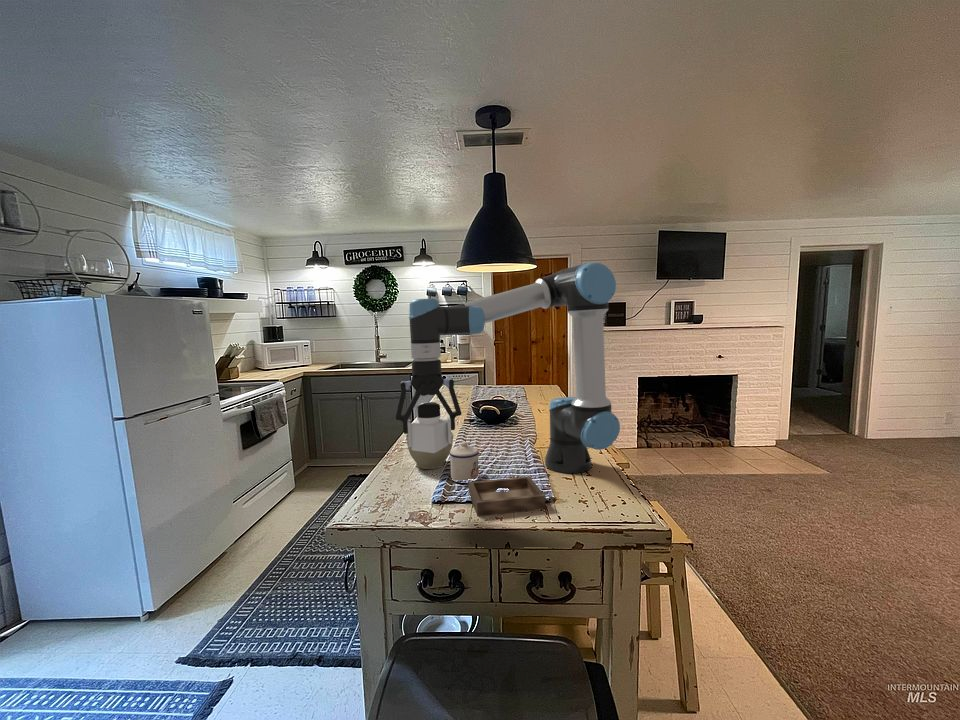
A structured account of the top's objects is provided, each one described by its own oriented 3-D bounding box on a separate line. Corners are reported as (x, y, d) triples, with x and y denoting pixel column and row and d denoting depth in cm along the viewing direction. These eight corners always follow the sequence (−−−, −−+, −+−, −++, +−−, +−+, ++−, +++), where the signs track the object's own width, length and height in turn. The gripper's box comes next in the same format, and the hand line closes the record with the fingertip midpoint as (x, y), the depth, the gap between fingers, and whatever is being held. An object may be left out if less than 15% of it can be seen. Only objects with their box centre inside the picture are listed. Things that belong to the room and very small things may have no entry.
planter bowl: (438, 476, 134) (437, 443, 133) (397, 469, 141) (396, 438, 140) (462, 460, 149) (461, 430, 147) (424, 455, 156) (423, 426, 154)
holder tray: (529, 487, 123) (529, 476, 123) (545, 508, 109) (545, 495, 109) (468, 493, 120) (468, 482, 120) (477, 516, 106) (477, 502, 106)
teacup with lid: (477, 485, 126) (476, 447, 125) (447, 484, 128) (446, 446, 126) (482, 470, 138) (481, 436, 137) (455, 470, 139) (454, 435, 138)
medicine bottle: (448, 445, 112) (446, 401, 111) (434, 453, 106) (432, 406, 105) (425, 443, 115) (424, 399, 114) (411, 450, 109) (408, 405, 108)
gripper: (381, 362, 103) (386, 451, 105) (471, 358, 107) (474, 444, 109) (382, 360, 110) (387, 443, 112) (466, 356, 114) (469, 436, 116)
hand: (430, 443), depth 111 cm, fingers closed on medicine bottle, 10 cm apart
